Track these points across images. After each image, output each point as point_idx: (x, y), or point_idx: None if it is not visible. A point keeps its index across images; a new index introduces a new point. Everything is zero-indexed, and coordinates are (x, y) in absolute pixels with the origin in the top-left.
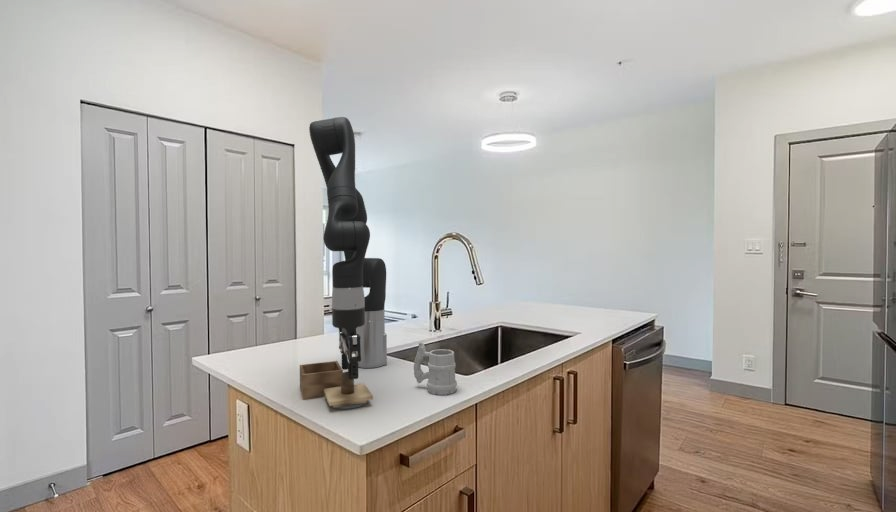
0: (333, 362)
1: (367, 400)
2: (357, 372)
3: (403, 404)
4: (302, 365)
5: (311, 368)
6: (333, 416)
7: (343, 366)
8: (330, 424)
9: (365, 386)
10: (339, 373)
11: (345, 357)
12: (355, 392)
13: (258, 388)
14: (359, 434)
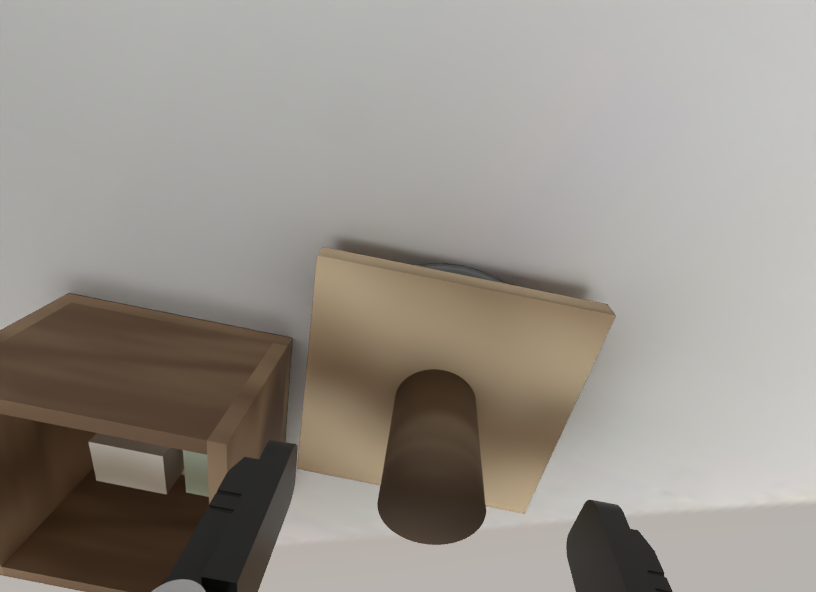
0: None
1: (492, 277)
2: (633, 554)
3: (733, 95)
4: (2, 563)
5: (13, 502)
6: (567, 469)
7: (285, 511)
8: (641, 502)
9: (391, 274)
10: (236, 446)
11: (250, 583)
12: (470, 371)
13: None
14: None
